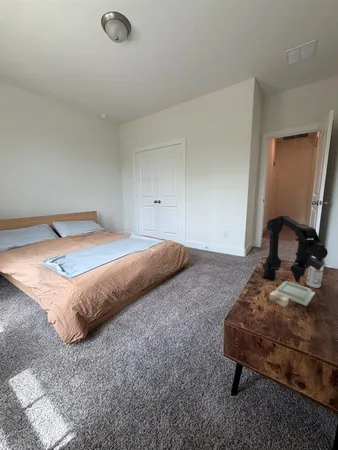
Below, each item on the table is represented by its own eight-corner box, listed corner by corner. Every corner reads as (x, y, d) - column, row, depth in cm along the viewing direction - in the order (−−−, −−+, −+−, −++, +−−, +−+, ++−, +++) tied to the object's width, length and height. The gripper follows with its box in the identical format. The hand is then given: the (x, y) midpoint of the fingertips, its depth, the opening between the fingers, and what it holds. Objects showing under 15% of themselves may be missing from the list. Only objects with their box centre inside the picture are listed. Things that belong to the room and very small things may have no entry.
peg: (268, 300, 104) (269, 293, 103) (272, 297, 106) (273, 291, 105) (284, 307, 97) (285, 300, 96) (288, 304, 99) (289, 298, 99)
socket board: (273, 293, 110) (274, 288, 109) (283, 283, 120) (284, 279, 119) (306, 306, 98) (307, 301, 97) (314, 294, 108) (315, 289, 107)
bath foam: (322, 286, 116) (328, 255, 111) (316, 289, 113) (321, 258, 108) (310, 281, 122) (315, 252, 117) (304, 283, 119) (308, 254, 114)
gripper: (320, 261, 85) (314, 292, 89) (326, 250, 98) (321, 278, 101) (291, 254, 93) (287, 283, 96) (301, 245, 105) (297, 271, 109)
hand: (299, 279), depth 100 cm, fingers open, 9 cm apart
